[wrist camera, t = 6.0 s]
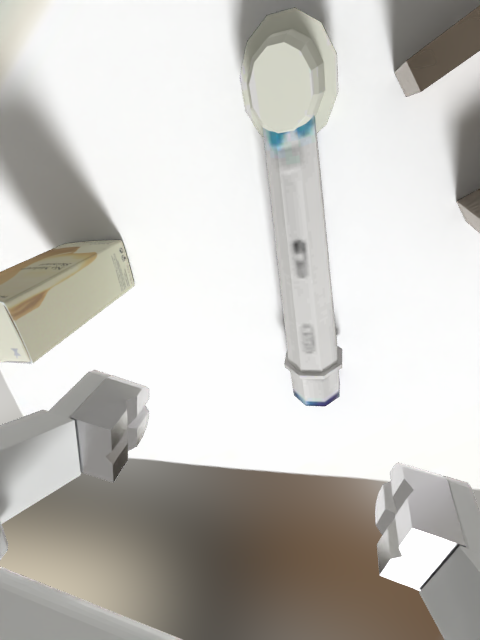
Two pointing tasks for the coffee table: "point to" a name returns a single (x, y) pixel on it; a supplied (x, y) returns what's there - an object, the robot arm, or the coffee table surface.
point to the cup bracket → (433, 64)
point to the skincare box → (58, 295)
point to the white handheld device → (297, 186)
